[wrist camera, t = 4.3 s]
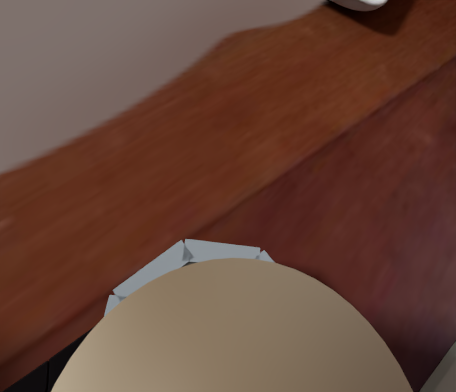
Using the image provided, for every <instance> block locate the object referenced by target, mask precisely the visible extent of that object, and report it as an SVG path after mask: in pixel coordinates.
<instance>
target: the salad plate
mask: <svg viewBox="0 0 456 392" xmlns="http://www.w3.org/2000/svg"><path fill="white" fill-rule="evenodd" d="M331 1H333V2H335V3H336V4H339V5H341V6H343V7H346V8H349V9H352V10H357V11H372V10H375V9H377V8H379V7H381V6H383V5H384V4H385V3H386V2H387V1H388V0H331Z"/></svg>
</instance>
